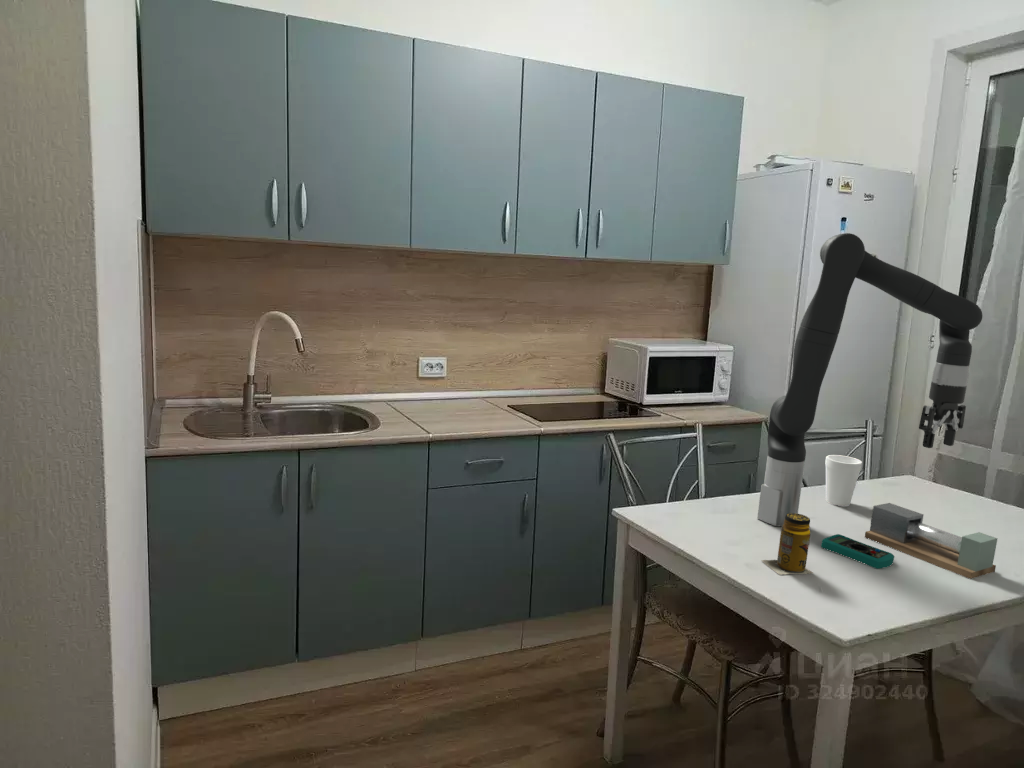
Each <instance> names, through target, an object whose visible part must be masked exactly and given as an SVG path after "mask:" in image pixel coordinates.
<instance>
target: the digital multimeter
mask: <svg viewBox="0 0 1024 768" xmlns="http://www.w3.org/2000/svg"><path fill="white" fill-rule="evenodd" d="M820 547H821V548H822V549H824V548H825V549H824V550H827V549H828V551H829V550H831V551H830V552H832V551H834V552H833V553H835V552H837V553H839V554H838V555H840V554H842V555H841V556H843V555H844V556H843V557H845V556H847V557H846V558H848V557H850V558H849V559H851V558H852V559H851V560H853V559H855V560H854V561H856V560H857V561H856V562H858V561H860V562H859V563H861V562H862V563H861V564H863V563H865V564H864V565H866V564H867V565H866V566H868V565H869V566H868V567H871V568H874V569H876V570H879V569H884V568H888V567H891V566H892V565H893V564H892V563H894V561H895V560H894V559H895V555H894V554H893V553H891V552H890V551H887V550H883V549H881V548H877V547H874V546H871V545H869V544H866V543H863V542H861V541H859V540H855V539H852V538H850V537H847V536H845V535H842V534H839V533H837V534H834V535H830V536H828V537H827V536H826V537H824V538H823V539H821V545H820ZM837 553H836V554H837ZM890 565H891V566H890Z"/></svg>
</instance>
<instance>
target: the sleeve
mask: <svg viewBox="0 0 1024 768" xmlns="http://www.w3.org/2000/svg"><path fill="white" fill-rule="evenodd" d="M910 520H914V521H917V522H920V523H923V521H924V513H920V512H917V511H916V510H915V511H914V510H912V509H908V508H906V507H903V506H899V505H897V504H894V503H891V502H886V503H882V504H876V505H873V507H872V513H871V520H870V525H869V527H870V528H869V531H872V532H874V533H877V534H879V535H882V536H885V537H887V538H890V539H893V540H895V541H898V542H900V543H903V544H904V543H909V542H913V541H917V540H918V539H916V538H913V537H910V536H908V535H907V531H908V525H909V521H910Z"/></svg>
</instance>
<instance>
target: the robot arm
mask: <svg viewBox="0 0 1024 768" xmlns="http://www.w3.org/2000/svg"><path fill="white" fill-rule="evenodd" d="M819 259H820V260H821V263H822V269H821V274H820V280H819V282H818V285H817V288H816V291H815V292H814V295H813V297H812V299H811V301H810V302H809V305H808V306H807V308H806V311H805V312H804V315H803V317H802V318H801V321H800V325H799V328H798V331H797V334H796V338H795V341H794V346H793V347H794V348H793V356H792V358H793V360H792V372H791V373H792V375H791V379H790V383H789V387H788V388H787V392H786V394H785V395H782V396H781V397H779V398H777V399H776V400H775V402H773V404H772V406H771V407H770V412H769V419H768V420H769V422H768V429H767V448H768V449H767V458H766V465H765V473H764V482H763V483H762V484H761V486H760V494H759V502H758V510H757V518H756V519H758V520H761V522H764V523H767V524H770V525H772V526H774V527H782V526H783V525H784V520H785V516H786V514H788V513H797V514H799V508H800V500H801V494H802V493H801V491H802V487H803V478H804V472H805V463H806V462H805V461H806V455H807V450H806V446H805V443H806V442H805V434H806V433H807V432H808V431H809V430H811V428H812V425H813V424H814V421H815V416H816V412H817V406H818V402H819V401H818V400H819V395H820V392H821V388H822V384H823V381H824V378H825V375H826V373H827V370H828V369H829V365H830V361H831V358H832V355H833V352H834V350H835V348H836V347H835V346H836V343H837V340H838V337H839V334H840V331H841V327H842V323H843V319H844V315H845V311H846V306H847V303H848V299H849V294H850V291H851V289H852V287H853V284H854V282H855V279H858V280H861V281H863V282H865V283H867V284H869V285H871V286H873V287H875V288H876V289H879V290H881V291H882V292H884V293H886V294H888V295H889V296H891V297H893V298H895V299H896V300H898V301H900V302H902V303H904V304H905V305H907V306H910V307H911V308H913V309H916V311H920V312H922V313H924V314H929V315H930V316H933V317H935V318H937V319H939V327H938V328H939V329H938V331H939V335H938V336H939V337H938V338H939V345H938V350H937V354H936V361H935V365H934V368H933V372H932V377H931V382H930V388H929V394H928V398H929V400H932V401H933V403H932V405H931V406H930V405H926V404H925V405H923V407H922V411H921V415H920V416H921V417H920V420H919V426H918V429H919V430H922V431H923V432H924V433H923V439H922V440H923V441H922V447H924V448H927V449H932V448H933V447H934V441H935V437H936V432H937V430H938V428H941V427H943V424H944V426H945V430H944V431H945V432H944V436H943V437H944V438H943V445H944V446H945V445H946V446H948V447H949V446H950V447H952V446H954V443H955V439H956V432H958V431H959V429H961V430H962V429H963V428H964V421H965V414H966V407H967V406H966V405H964V404H963V403H964V402H965V398H966V392H967V386H968V381H969V375H970V373H969V372H970V363H971V358H972V352H973V351H972V350H973V346H972V343H971V342H970V331H971V330H973V329H975V328H977V327H978V326H979V325H980V324H981V323H982V321H983V311H982V309H981V308H980V306H979V305H978V304H977V303H975V302H973V301H971V300H969V299H968V298H965V297H962V296H961V295H958V294H955V293H953V292H950V291H948V290H945V289H944V288H942V287H940V286H938V285H937V284H935V283H934V282H932V281H929V280H928V279H925V278H924V277H921V276H919V275H917V274H916V273H913V272H911V271H909V270H905V269H903V268H900V267H898V266H895V265H892V264H890V263H888V262H886V261H883V260H881V259H880V258H878V257H876V256H874V255H872V254H871V253H869V252H868V251H866V249H865V243H864V242H863V241H862V239H861V238H860V237H859V236H858V235H856V234H854V233H847V232H846V233H840V234H836V235H834V236H832V237H830V238H827V240H825V241H824V242H823V244H822V245H821V247H820V251H819ZM925 422H926V423H925Z"/></svg>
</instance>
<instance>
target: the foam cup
mask: <svg viewBox="0 0 1024 768" xmlns="http://www.w3.org/2000/svg"><path fill="white" fill-rule="evenodd" d="M824 463H825V464H824V465H825V501H827V502H826V503H828V504H829V503H830V505H832V504H833V506H836V505H838V506H837V507H849V506H850V504H851V502H852V500H853V499H852V498H853V495H854V491H855V489H856V484H857V482H858V480H859V479H858V478H859V475H860V471H862V468H863V467H862V465H863V461H862V460H860V459H858V458H855V457H852V456H848V455H840V454H829V455H827V456H825V461H824Z"/></svg>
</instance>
